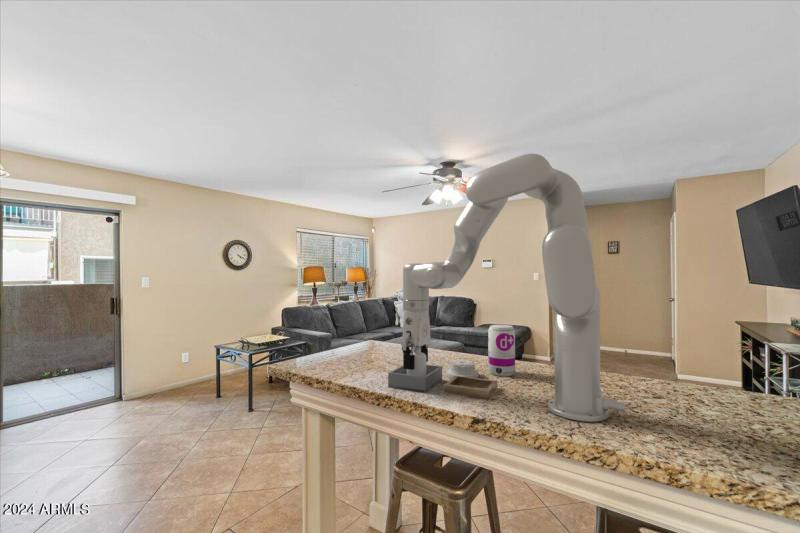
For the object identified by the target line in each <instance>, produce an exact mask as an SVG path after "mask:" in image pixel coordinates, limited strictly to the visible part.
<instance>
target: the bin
mask: <svg viewBox="0 0 800 533" xmlns="http://www.w3.org/2000/svg"><path fill="white" fill-rule="evenodd" d="M387 375H388V376H387V377H388V379H387V384H388V385H387V386H388V388H392V389H399V390H406V391H411V392H416V393H427V392H428V391H430V390H431V389H432V388H434V387H435V386H436V385H437V384H439V383H441V381H442V380H443V366H442V365H441V366H440V365H434V364H426V376H425V377H421V376H414V375H407V369H404V368H403V364H402V365H400V366H398V367H396V368H394V369H393V370H391V371H389V372H388V374H387Z"/></svg>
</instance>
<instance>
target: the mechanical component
mask: <svg viewBox="0 0 800 533" xmlns="http://www.w3.org/2000/svg"><path fill="white" fill-rule="evenodd" d="M445 372H446V377H448V378H450V379H452V378H453V377H455V376H463V377H471V378H479V376H480V374H479V371H478V370H476V368H475V362H473V361H471V360H467V359H466V360H465V359H454V360H451V361H450V363H449V368H448V369H447V370H446V371H445Z"/></svg>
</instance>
